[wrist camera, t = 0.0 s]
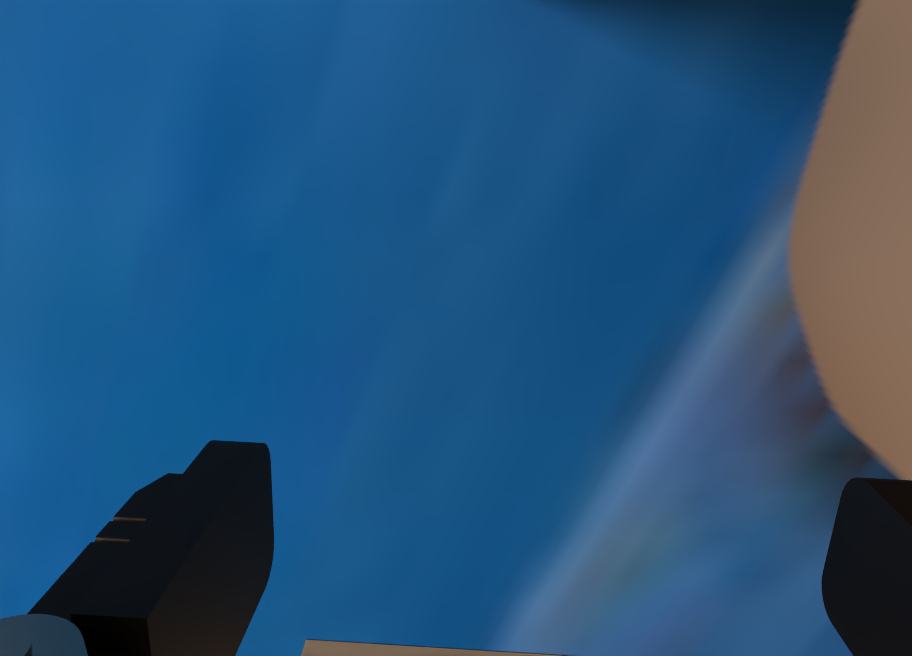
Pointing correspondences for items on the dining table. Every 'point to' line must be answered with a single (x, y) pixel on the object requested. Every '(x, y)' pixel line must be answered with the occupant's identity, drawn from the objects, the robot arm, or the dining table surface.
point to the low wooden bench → (391, 650)
